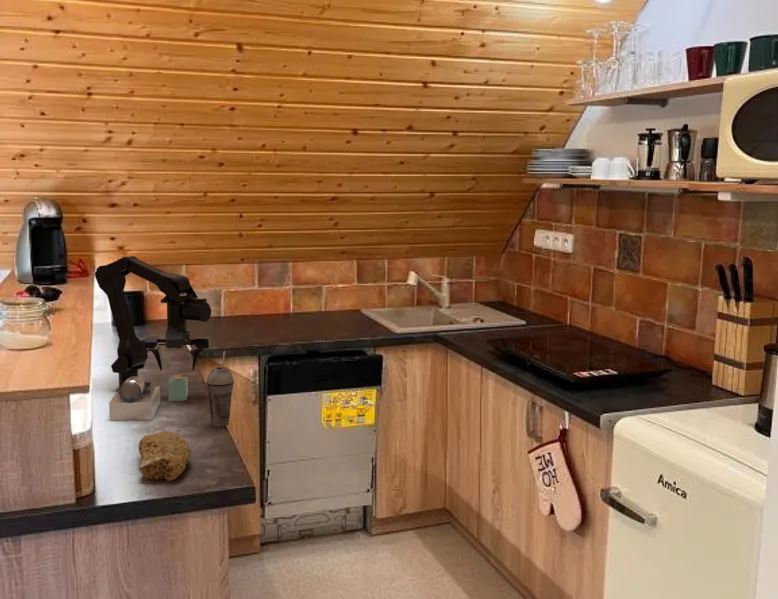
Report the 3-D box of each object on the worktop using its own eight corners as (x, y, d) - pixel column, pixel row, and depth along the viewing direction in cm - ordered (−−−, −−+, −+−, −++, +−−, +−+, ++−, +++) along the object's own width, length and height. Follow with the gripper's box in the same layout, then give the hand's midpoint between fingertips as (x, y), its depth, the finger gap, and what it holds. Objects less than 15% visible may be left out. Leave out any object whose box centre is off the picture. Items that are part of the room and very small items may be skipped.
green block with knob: (170, 396, 231) (170, 373, 230) (187, 396, 231) (187, 373, 230) (168, 400, 226) (168, 377, 225) (185, 400, 226) (185, 377, 225)
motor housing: (121, 403, 221) (120, 367, 220) (160, 403, 223) (159, 367, 221) (109, 420, 205) (108, 382, 204) (151, 420, 207) (151, 381, 206)
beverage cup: (204, 421, 207) (203, 349, 204) (230, 419, 210) (230, 347, 207) (209, 429, 200) (208, 355, 198) (236, 426, 203) (236, 353, 200)
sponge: (187, 487, 166) (201, 439, 185) (179, 457, 163) (193, 411, 182) (127, 497, 166) (147, 448, 184) (117, 467, 163) (138, 420, 181)
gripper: (139, 323, 216) (140, 377, 218) (207, 323, 219) (207, 377, 221) (145, 316, 227) (146, 368, 229) (210, 317, 229) (210, 367, 232)
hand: (177, 370), depth 227 cm, fingers open, 9 cm apart
